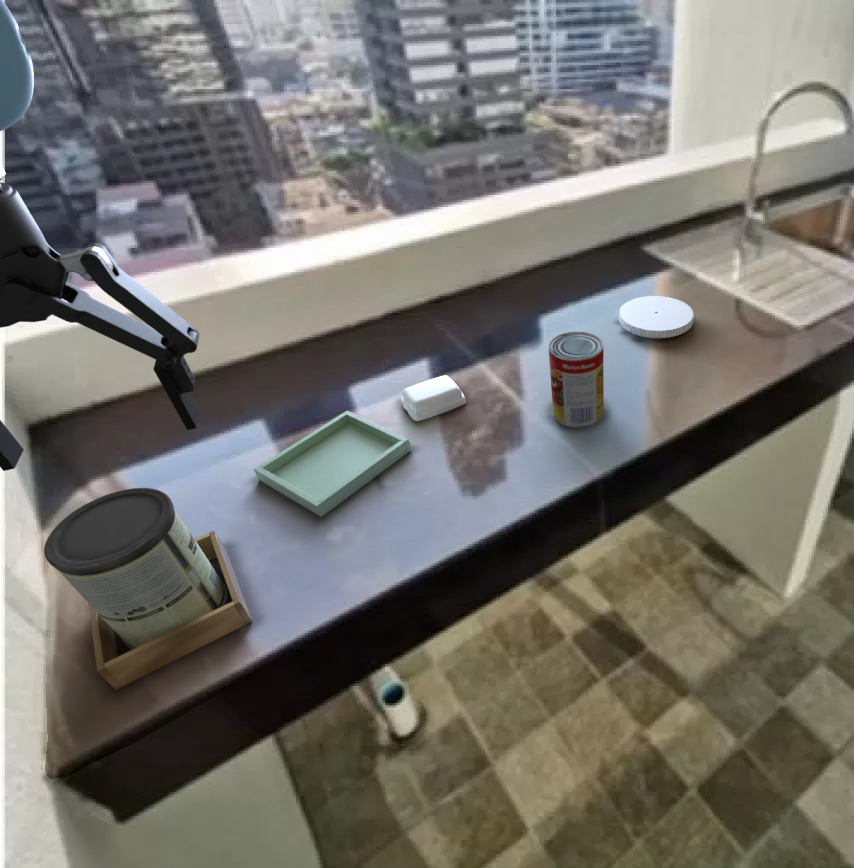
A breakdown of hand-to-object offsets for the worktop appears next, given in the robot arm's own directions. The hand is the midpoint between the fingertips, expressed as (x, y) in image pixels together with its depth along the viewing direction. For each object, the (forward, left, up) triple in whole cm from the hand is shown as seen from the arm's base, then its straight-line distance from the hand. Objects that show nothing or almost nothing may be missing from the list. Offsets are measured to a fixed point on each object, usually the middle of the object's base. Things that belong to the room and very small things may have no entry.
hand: (107, 440), depth 53 cm
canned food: (+50, -16, -23) cm, 57 cm away
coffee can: (-3, +1, -23) cm, 23 cm away
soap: (+40, +5, -23) cm, 46 cm away
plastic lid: (+81, -13, -23) cm, 85 cm away
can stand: (-3, +1, -23) cm, 23 cm away
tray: (+22, +6, -23) cm, 32 cm away
